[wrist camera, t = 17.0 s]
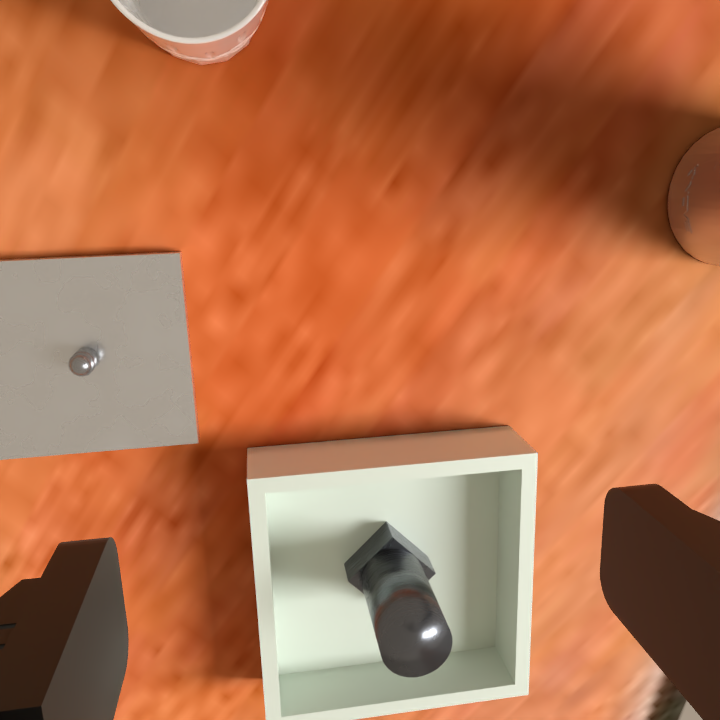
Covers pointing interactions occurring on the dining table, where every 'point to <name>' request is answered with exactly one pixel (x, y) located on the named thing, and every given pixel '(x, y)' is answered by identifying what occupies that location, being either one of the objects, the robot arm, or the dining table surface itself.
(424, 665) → the dark grey stamp
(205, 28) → the white cup
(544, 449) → the dining table surface
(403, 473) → the sage bin
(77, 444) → the stud plate
